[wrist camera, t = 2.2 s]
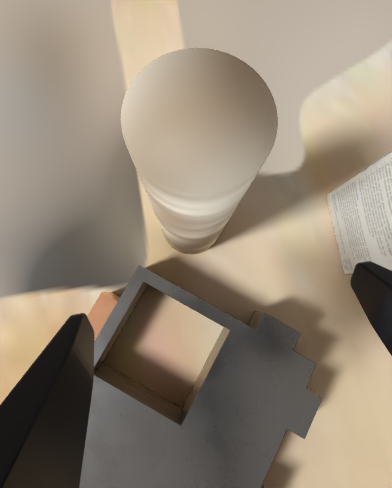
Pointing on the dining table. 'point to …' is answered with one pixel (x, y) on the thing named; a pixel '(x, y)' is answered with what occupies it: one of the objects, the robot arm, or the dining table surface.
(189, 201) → the pin
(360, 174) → the light bulb box
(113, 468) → the pixel heart plate
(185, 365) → the dining table surface
